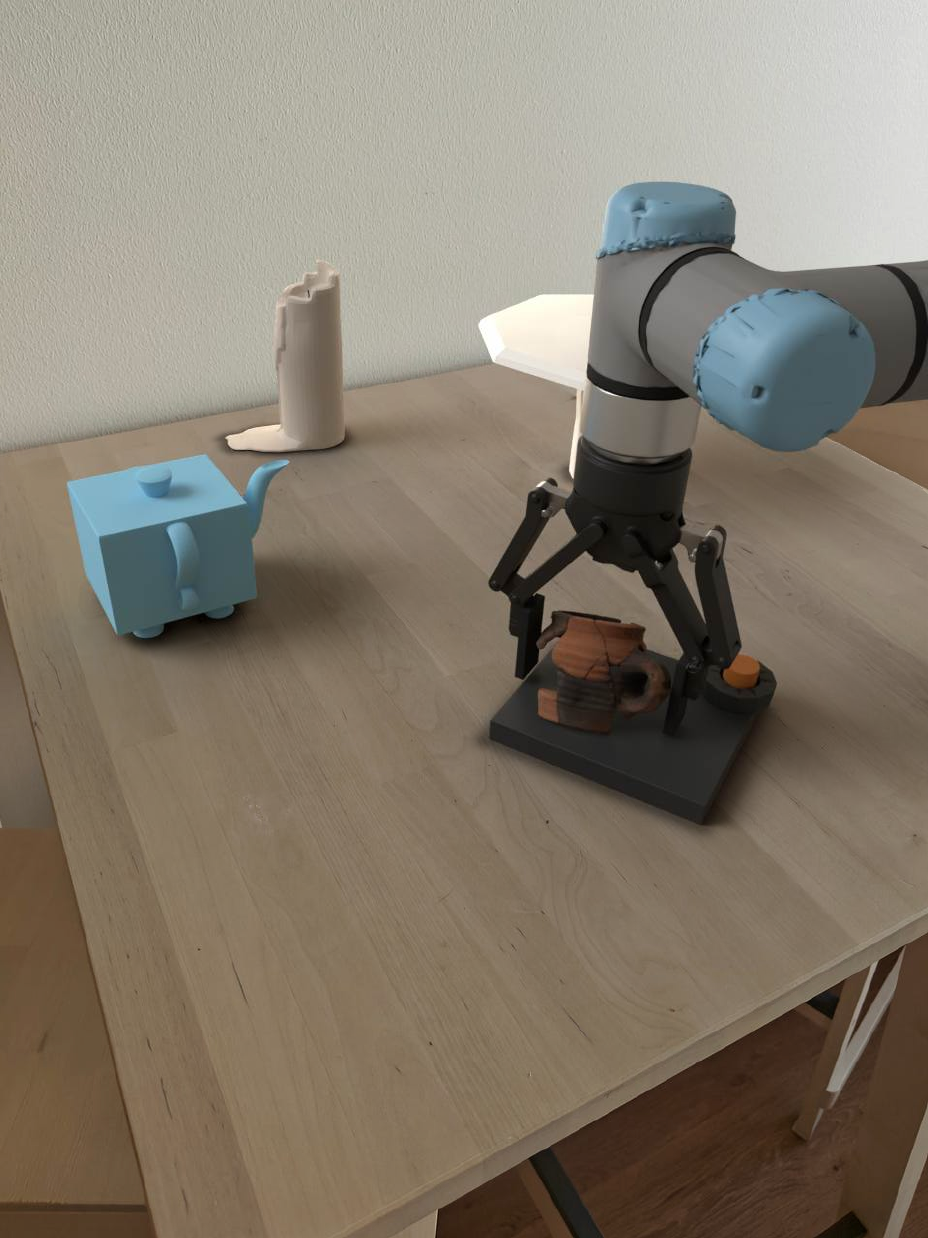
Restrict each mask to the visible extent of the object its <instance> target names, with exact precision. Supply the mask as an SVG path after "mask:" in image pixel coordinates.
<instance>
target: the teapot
mask: <svg viewBox="0 0 928 1238" xmlns="http://www.w3.org/2000/svg"><path fill="white" fill-rule="evenodd" d="M289 464H290V461H289V460H288V459H279V460H272V461H270V462H266V463H264V464H262V465H260V466H259V467H257V468H256V470H255V471H254V472H253V473H252V475H251V476H250V478H249V481H248V482H247V483H248V484H247V486H246V489H245V492H244V494H243V496H241V494H240V493H239V492H238V491H237V490H236V488H235V487H234V485H232V483H231V482H230V481H229V480H228V479H227V477H226V476H225V475H224V474H223V473H222V471H221V470H220V469H219V468H218V467H217V466H216V464H215V463H214V462H213V461H212V460H211V458H210V457H209V456H208V455H207V454H206V453H204V454H200V455H192V456H189V457H184V458H183V457H182V458H178V459H174V460H168V461H163V462H158V463H153V464H147V465H138V466H133V467H130V468H127V469H124V470H119V471H114V472H108V473H104V474H99V475H94V476H88V477H84V478H80V479H75V480H69V481H67V483H66V485H67V491H68V496H69V501H70V505H71V510H72V515H73V519H74V525H75V530H76V533H77V538H78V544H79V548H80V549H79V550H80V552H81V558H82V563H83V567H84V572H85V576H86V578H87V580H88V582H89V584H90V586H91V588H92V590H93V591H94V594H95V595H96V597H97V599H98V601H99V603H100V605H101V607H102V609H103V611H104V612H105V614H106V616H107V618H108V620H109V622H110V624H111V626H112V628H113V630H114V631H115V633H116V636H122V635H125V634H129V633H130V634H131V633H133V635H135V636H136V637H138V638H142V639H148V638H149V639H150V638H154V637H157V636H159V635H160V634H162V632H163V631H164V629H165V624H167V623H170V622H174V621H178V620H181V619H185V618H189V617H193V616H196V615H200V614H205V616H207V617H209V618H211V619H223V618H227V617H228V616H230V615H232V613H233V612H234V610H235V607H234V605H236V604H240V603H244V602H248V601H251V600H254V599H258V590H257V581H256V569H255V557H254V548H253V547H254V545H253V539H254V538H255V536H256V534H257V533H258V531H259V528H260V526H261V522H262V517H263V511H264V506H265V499H266V495H267V491H268V488H269V486H270V484H271V481H272V480H273V478H274V477H275V476H276V475H277V474H278V473H279V472H281V471H282V470H283V469H284V468H285V467H287V466H288V465H289Z"/></svg>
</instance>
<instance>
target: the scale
mask: <svg viewBox="0 0 928 1238" xmlns="http://www.w3.org/2000/svg"><path fill="white" fill-rule="evenodd" d="M559 640H560V638H559V639H558V641H559ZM558 641H557V642H558ZM555 645H556V643H555V644H554V645H553V646H552V647H551V649H549V651H548V652H547V653H546V654H545V656H544V657H543V658H542V659H541V660H540V661H539V662H538V663H537V665H536V666H535V667H534V668H533V669H532V670H531V672H530V673H529V674H528V675H527V676H526V677H525V679H524V680H522V682H521V684H520V685H519V686H518V687H517V688H516V689H515V691H514V692H513V693H512V694H511V696H509V697H508V699H507V700H506V701H505V703H503V705H502V706H501V707H500V708H499V709H498V711H496V713H495V714H494V715H493V717H491V719H490V722H489V735H488V736H489V737H488V739H490V740H492V741H495V742H497V743H499V744H502V745H504V746H506V747H508V748H511V749H514V750H516V751H519V752H522V753H524V754H527V755H529V756H531V757H534V758H535V759H539V760H541V761H544V762H546V763H548V764H551V765H552V766H553V765H554V766H556V767H557V768H558V767H559V768H561V769H563V770H566V771H568V772H570V773H572V774H573V773H574V774H575V775H578V776H580V777H583V778H585V779H588V780H590V781H593V782H595V783H598V784H600V785H602V786H605V787H607V788H610V789H612V790H614V791H617V792H619V793H622V794H624V795H627V796H630V797H632V798H635V799H636V800H639V801H641V802H643V803H646V804H649V805H652V806H654V807H656V808H659V809H661V810H664V811H666V812H669V813H671V814H674V815H676V816H678V817H681V818H684V819H686V820H689V821H691V822H693V823H696V824H698V825H702V824H703V822H704V821H705V818H706V816H707V814H708V813H709V810H710V808H711V806H712V804H713V803H714V801H715V799H716V797H717V795H718V793H719V792H720V789H721V787H722V785H723V784H724V781H725V779H726V778H727V775H728V773H729V772H730V769H731V768H732V766H733V763H734V762H735V760H736V758H737V756H738V754H739V752H740V750H741V748H742V746H743V744H744V743H745V740H746V739H747V736H748V735H749V733H750V731H751V729H752V727H753V725H754V723H755V721H756V720H757V718H758V715H759V714H760V712H762V711H765V710H767V709H768V708H769V707H770V704H771V703H772V701H773V699H774V696H775V692H776V688H777V685H778V681H777V679H776V677H775V674H774V672H773V670H771V669H770V668H768V667H767V666H766V665H765V664H764V663H762V662H761V661H760V660H757V659H755V660H756V661H757V662H758V663H759V665H760V670H759V674H758V678H757V682H756V684H755V686H754V687H752V688H750V689H745V688H736V687H733V686H731V685H729V684H727V683H726V682H725V681H724V679H723V672H724V669H721V668H719V667H717V666H716V665H711V666H710V667H709V671H708V675H707V680H706V685H705V687H704V689H703V690H702V692H701V694H700V695H699V697H698V698H697V699H696V700H695V701H694V700H691V699H689V698H688V701H687V706H686V711H685V715H684V717H683V719H682V721H681V722H680V724H679V726H678V727H677V729H676V731H675V732H674V734H673V736H670V735H667V734H665V733H663V728H664V723H665V718H666V713H667V708H668V703H669V698H670V695H669V696H667V698H666V700H665V701H664V702H663V704H662V705H661V706H659V707H658V708H657V709H655V710H653V711H651V712H648V713H636V714H635V715H634V716H633V717H631V718H629V719H625V718H623V717H622V716H621V714H620V713H619V711H617V712H616V714H615V716H614V719H613V720H612V722H611V726H610V729H609V731H608V732H595V731H587V730H581V729H578V728H572V727H570V726H568V725H563V724H560V723H557V722H554V721H549V720H547V719H544V718H543V717H541V716H539V714H538V711H539V708H538V691H539V690H540V689H541V688H545V689H547V690H552V691H558V685H557V683H558V679H557V669H558V668H559V667H558V666H556V665H555V663H554V662H553V660H552V649H553V648H554V646H555ZM637 650H639V649H638V648H637ZM639 651H640V650H639ZM645 653H646V655H647V656H648V657H651V658H655V659H658V660H659V661H661V662H662V663H663V664H664V665H665V666H666V668H667V669H668V671H669V673H670V676H671V688H672V683H673V678H674V673H675V668H676V664H677V662H678V661H679V659H677V658H673V657H671V656H668V655H665V654H661V653H659V652H656V651H654V650H650V649H648V648H647V650H646V651H645ZM610 673H611V677H612V679H614V678H615V677H617V676H618V675H619V674H620V670H619V668H618V666H610ZM649 685H650V681H649V677H648V680H647V683H646V685H645V687H644V688H645V691H644V694H645V693H646V692H647V691H648V688H649ZM670 693H671V692H670Z"/></svg>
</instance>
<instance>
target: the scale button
mask: <svg viewBox="0 0 928 1238" xmlns="http://www.w3.org/2000/svg"><path fill="white" fill-rule="evenodd" d="M756 660H757V659H755V658H754V657H752V656H750V655H746V654H742V653H741V654H739V653H738V655H737V656H736V658H735V660H734V661H733V663H732V665H731V666H730V668H728V669H724V672H723V679H724V681H725V682H726V683H727V684H729V685H731V686H733V687H736V688H745V689H750V688H752V687H754V686H755V684H756V682H757V678H758V674H759V670H760V665H759V663H758V662H757V661H758V660H757V661H756Z"/></svg>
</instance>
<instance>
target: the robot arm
mask: <svg viewBox="0 0 928 1238" xmlns="http://www.w3.org/2000/svg"><path fill="white" fill-rule="evenodd" d="M736 217H737V210H736V206H735V205H734V202H733V199H732V198H731V197H730V195H728V194H727V193H725V192H724V191H721V190H719V189H716V188H713V187H710V186H704V185H701V184H695V183H689V182H679V181H642V182H634V183H631V184H627V185H624V186H622V187H620V188H619V189H617V190H615V192H614V193H613V194H612V195H611V196H610V198H608V201H607V204H606V207H605V213H604V220H603V226H602V233H601V239H600V246H599V248H598V250H597V251H596V252H595V253H596V254H595V259H596V268H595V278H594V289H593V294H594V298H593V308H592V318H591V329H590V339H589V349H588V363H587V370H586V377H585V385H584V392H583V400H582V408H581V416H580V424H579V429H580V432H581V434H582V435H581V436H580V438H579V440H578V444H577V453H576V462H575V471H574V479H573V480H572V481H573V482H572V483H573V488H572V491H570V490H568V489H564V488H561V487H559V485H558V482H557V480H556V479H555V478H553V477H550V476H549V477H545V478H543V480H542V481H541V482H539V483H538V484H537V485H536V486H535V487H533V488H532V489H531V491H529V492H528V494H527V501H526V507H525V515H524V518H523V520H522V521H521V523H520V524H519V526H518V528H517V530H516V532H515V533H514V535H513V537H512V539H511V540H510V542H509V544H508V546H507V547H506V549H505V551H504V552H503V555H502V556H501V557H500V560H499V561H498V563H497V565H496V567H495V569H494V570H493V572H492V574H491V576H490V577H489V579H488V581H487V585H488V587H489V589H490V590H491V591H493V592H497V593H498V592H502V593H503V594H505V596H506V597H508V601H509V602H510V608H509V620H508V632H509V634H510V636H513V637H514V638H515V637H516V638H517V645H516V646H517V647H516V657H515V668H514V669H515V670H514V678H517V679H518V680H521V681H524V680H525V679H526V678H527V677H528V676H529V674H530V673H531V672H532V671H533V670H534V669H535V667H536V666H537V665H538V664H539V659H540V651H541V650H540V649H538V647H537V644H536V642H537V641H538V639H539V638H540V635H541V633H542V632H543V631H542V629H543V620H544V610H545V601H546V595H544V594H541V593H537V592H538V591H539V590H541V589H542V588H543V587H544V586H545V585H547V584H548V583H549V582H550V581H552V579H554V578H555V577H556V576H557V575H559V573H561V572H562V571H563V570H565V569H566V568H567V567H568V566H569V565H570V564H572V563H574V561H576V560H577V559H578V558H579V557H580V556H582V555H583V554H584V553H585V552H586V553H587V554H588V555H589V556H590V557H592V558H591V559H592V561H593V562H596V563H599V564H603V565H613V566H615V567H617V568H619V569H620V570H622V571H624V572H627V573H631V574H634V573H635V572H638V574H639V576H640V579H641V580H642V583H643V584H644V586H645V588H647V589H650V590H651V591H652V593H653V595H654V597H655V598H656V601H657V603H658V605H659V607H660V609H661V611H662V613H663V615H664V617H665V619H666V621H667V622H668V625H669V627H670V629H671V630H672V633H673V634H674V636H675V639H676V640H677V642H678V644H679V646H680V648H681V649H682V652H683V653H682V654H681V656H680V657H679V659H678V660H679V661H678V662H677V664H676V668H675V673H674V678H673V683H672V688H671V693H670V698H669V703H668V708H667V713H666V718H665V723H664V728H663V733H665V734H667V735H670V736H673V734H674V732H675V731H676V729H677V727H678V726H679V724H680V722H681V721H682V719H683V717H684V715H685V711H686V706H687V701H688V698H689V699H691V700H694V701H695V700H696V699H697V698H698V697H699V695H700V694H701V692H702V690H703V689H704V687H705V685H706V680H707V675H708V671H709V667H710V666H711V665H716V666H717V667H719V668H721V669H728V668H730V666H731V665H732V663H733V661H734V660H735V658H736V656H737V655H738V654H739V653H740V651H741V649H742V647H743V645H742V640H741V635H740V629H739V625H738V620H737V617H736V612H735V608H734V602H733V598H732V593H731V588H730V584H729V580H728V579H729V578H728V574H727V570H726V565H725V561H724V554H725V547H726V541H727V535H728V533H727V530H726V528H725V527H723V526H721V525H718V524H716V525H712V526H711V527H710V528H709V530H708V529H704V528H700V527H697V526H692V525H689V524H687V523H686V520H685V518H684V517H685V516H684V511H683V509H684V503H685V497H686V492H687V487H688V482H689V476H690V471H691V466H692V459H693V451H692V449H691V447H692V446H693V445H694V444H695V442H696V436H697V431H698V427H699V423H700V417H701V411H702V409H705V410H706V413H708V414H709V416H710V417H712V419H714V420H715V421H716V422H717V423H718V424H720V425H723V426H724V427H725V428H726V429H728V430H729V431H736V432H737V433H739V435H740V436H743V437H744V438H747V439H749V440H750V441H751V442H754V443H755V444H757V446H760V447H762V448H764V449H767V450H770V451H772V452H773V451H774V452H781V453H795V452H801V451H805V450H809V449H811V448H814V447H816V446H818V445H819V443H820V441H822V440H823V439H825V438H826V437H828V436H829V435H832V434H838V433H840V431H842V430H843V429H844V428H845V427H846V426H847V425H848V424H849V423H850V422H851V421H852V419H854V417H855V416H856V415H857V413H858V412H859V410H860V409H861V410H862V409H867V408H874V407H881V406H886V405H890V404H900V403H908V402H916V401H917V402H918V401H925V400H928V259H926V260H919V261H917V260H916V261H907V262H894V263H880V264H870V265H856V266H842V267H829V268H815V269H814V268H813V269H802V270H801V269H800V270H789V271H780V270H773V269H769V268H765V267H763V266H760V265H758V264H756V263H754V262H752V261H750V260H748V259H746V258H745V257H743V256H741V255H740V254H738V253H737V252H735V251H733V250H732V249H733V245H735V242H736V238H737V237H736V233H735V232H736ZM561 510H564V512H565V514H566V516H567V518H568V520H569V522H570V524H571V526H572V528H573V530H574V532H575V534H574V535H573V536H572V537H571V538H570V539H568V540H567V541H566V542H565V543H564V544H562V546H560V547H559V548H558V549H557V550H556V551H555V552H554V553H552V554H551V555H550V556H549V557H548V558H546V560H544V561H543V562H542V563H541V564H539V566H537V567H535V569H534V570H533V571H532V572H530V573H529V574H527V576H525V577H523V576H521V574H519V571H520V569H521V567H522V566H523V564H524V562H525V561H526V559H527V557H528V556H529V554H530V552H531V551H532V549H533V547H534V545H536V543H537V540H538V539H539V538H540V535H541V534H542V532H543V530H544V529H545V527H546V525H547V524H548V522H549V521H550V519H551V518H554V517H555V516H556V515H557V514H558V513H560V511H561ZM679 544H681V545H682V546H684V547H685V548H686V551H687V552H686V553H687V556H688V561H689V562H690V563H694V578H695V582H696V587H697V591H698V596H699V600H700V604H701V609H702V612H703V613H702V614H703V615H702V614H701V611H700V610H699V607H698V606H697V604H696V602H695V599H694V597H693V595H692V594H691V591H690V589H689V588H688V585H687V583H686V581H685V579H684V577H683V575H682V574H681V571H680V570H679V560H678V557H677V556H676V554H675V551H674V550H673V549H674V548H676V546H677V545H679Z"/></svg>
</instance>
